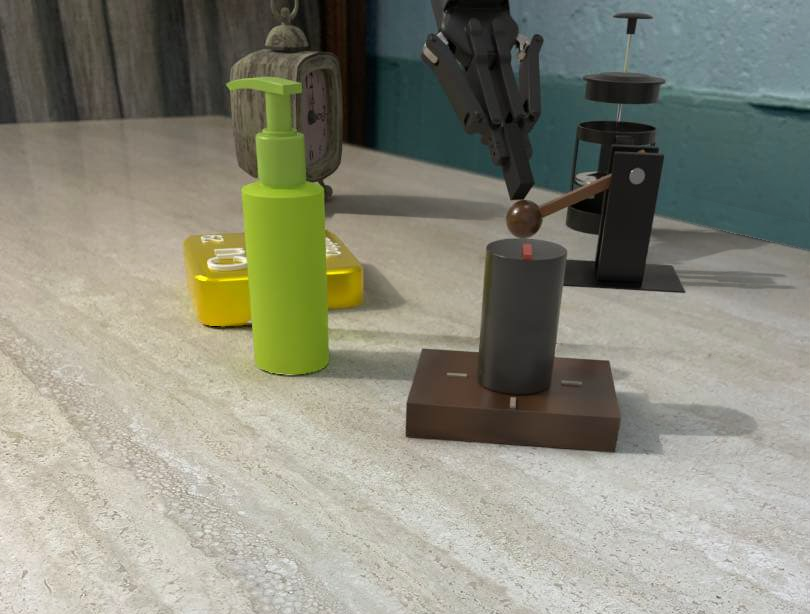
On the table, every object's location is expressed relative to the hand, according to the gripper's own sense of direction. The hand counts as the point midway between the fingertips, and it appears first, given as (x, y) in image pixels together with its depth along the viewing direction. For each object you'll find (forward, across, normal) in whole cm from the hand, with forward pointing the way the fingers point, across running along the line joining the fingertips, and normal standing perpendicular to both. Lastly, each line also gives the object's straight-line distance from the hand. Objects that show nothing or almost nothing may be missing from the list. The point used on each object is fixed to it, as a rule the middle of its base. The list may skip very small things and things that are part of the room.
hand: (522, 191), depth 84 cm
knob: (+25, +14, +16) cm, 33 cm away
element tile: (+5, +25, -7) cm, 26 cm away
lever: (+3, -5, +1) cm, 6 cm away
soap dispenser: (+16, +27, +4) cm, 32 cm away
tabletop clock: (-21, +14, -33) cm, 42 cm away
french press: (-3, -18, -15) cm, 24 cm away
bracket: (+10, -9, -3) cm, 13 cm away
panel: (+26, +14, +14) cm, 33 cm away
